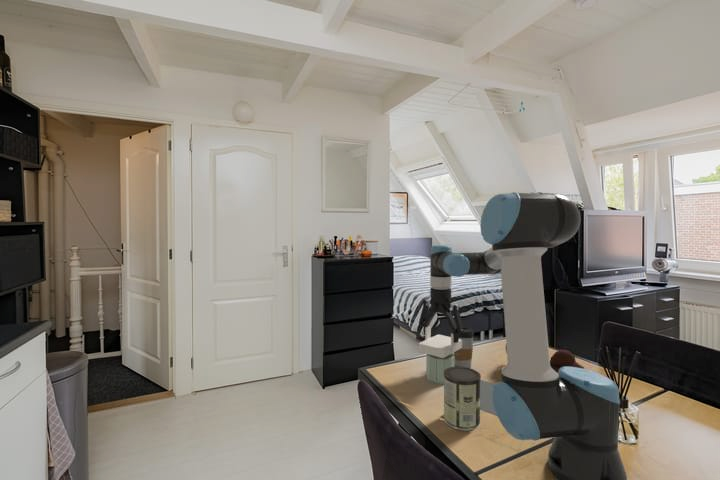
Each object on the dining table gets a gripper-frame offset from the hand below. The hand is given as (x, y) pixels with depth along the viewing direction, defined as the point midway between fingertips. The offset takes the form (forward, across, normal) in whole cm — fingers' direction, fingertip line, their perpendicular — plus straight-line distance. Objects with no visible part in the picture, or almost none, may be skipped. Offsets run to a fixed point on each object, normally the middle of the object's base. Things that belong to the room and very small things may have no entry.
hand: (440, 347), depth 130 cm
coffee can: (+12, -19, +21) cm, 31 cm away
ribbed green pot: (+12, 0, 0) cm, 12 cm away
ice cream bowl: (+12, -37, -18) cm, 43 cm away
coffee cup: (+12, -1, -16) cm, 20 cm away
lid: (+1, 0, 0) cm, 1 cm away
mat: (+12, -18, +2) cm, 22 cm away
